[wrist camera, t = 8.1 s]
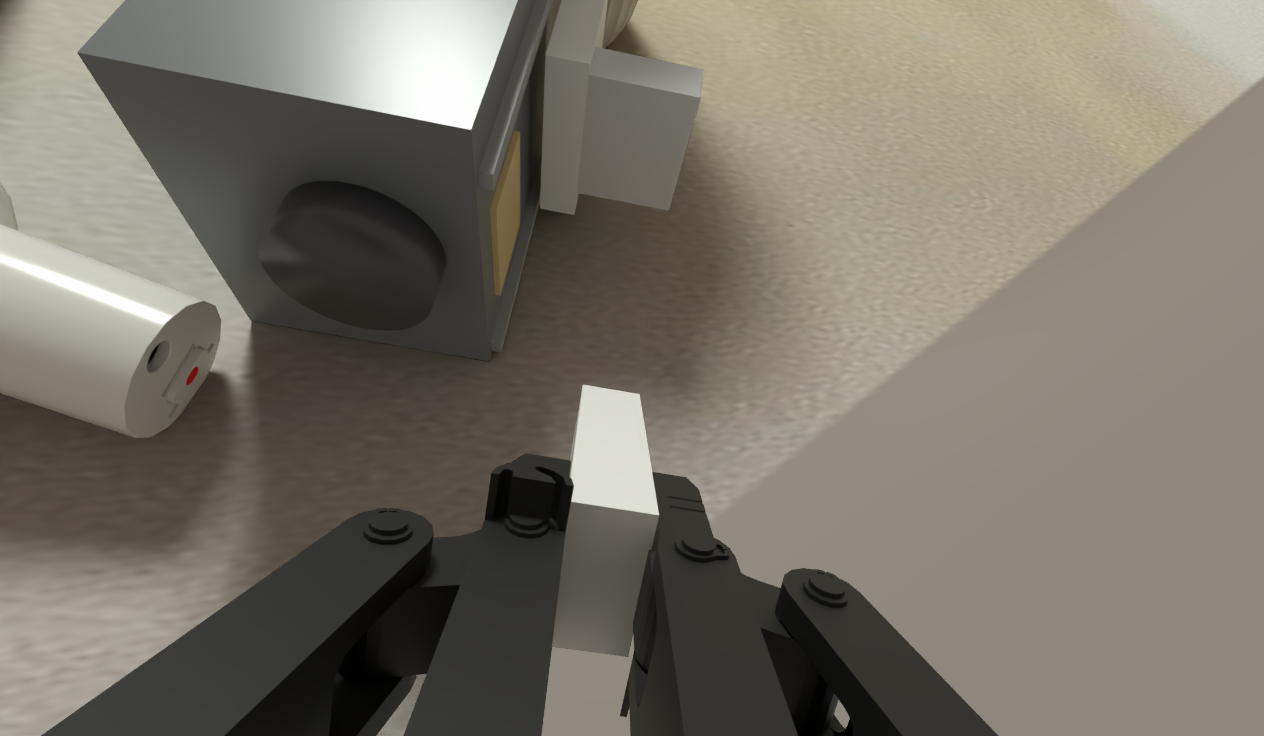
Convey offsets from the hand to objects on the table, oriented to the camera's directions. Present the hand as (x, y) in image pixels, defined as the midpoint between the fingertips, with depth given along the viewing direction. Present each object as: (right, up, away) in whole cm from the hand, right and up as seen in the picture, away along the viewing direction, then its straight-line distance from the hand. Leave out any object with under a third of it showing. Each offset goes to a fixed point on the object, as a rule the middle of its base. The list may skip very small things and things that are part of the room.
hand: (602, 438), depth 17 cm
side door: (0, +11, +12) cm, 16 cm away
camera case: (-9, +8, +10) cm, 15 cm away
